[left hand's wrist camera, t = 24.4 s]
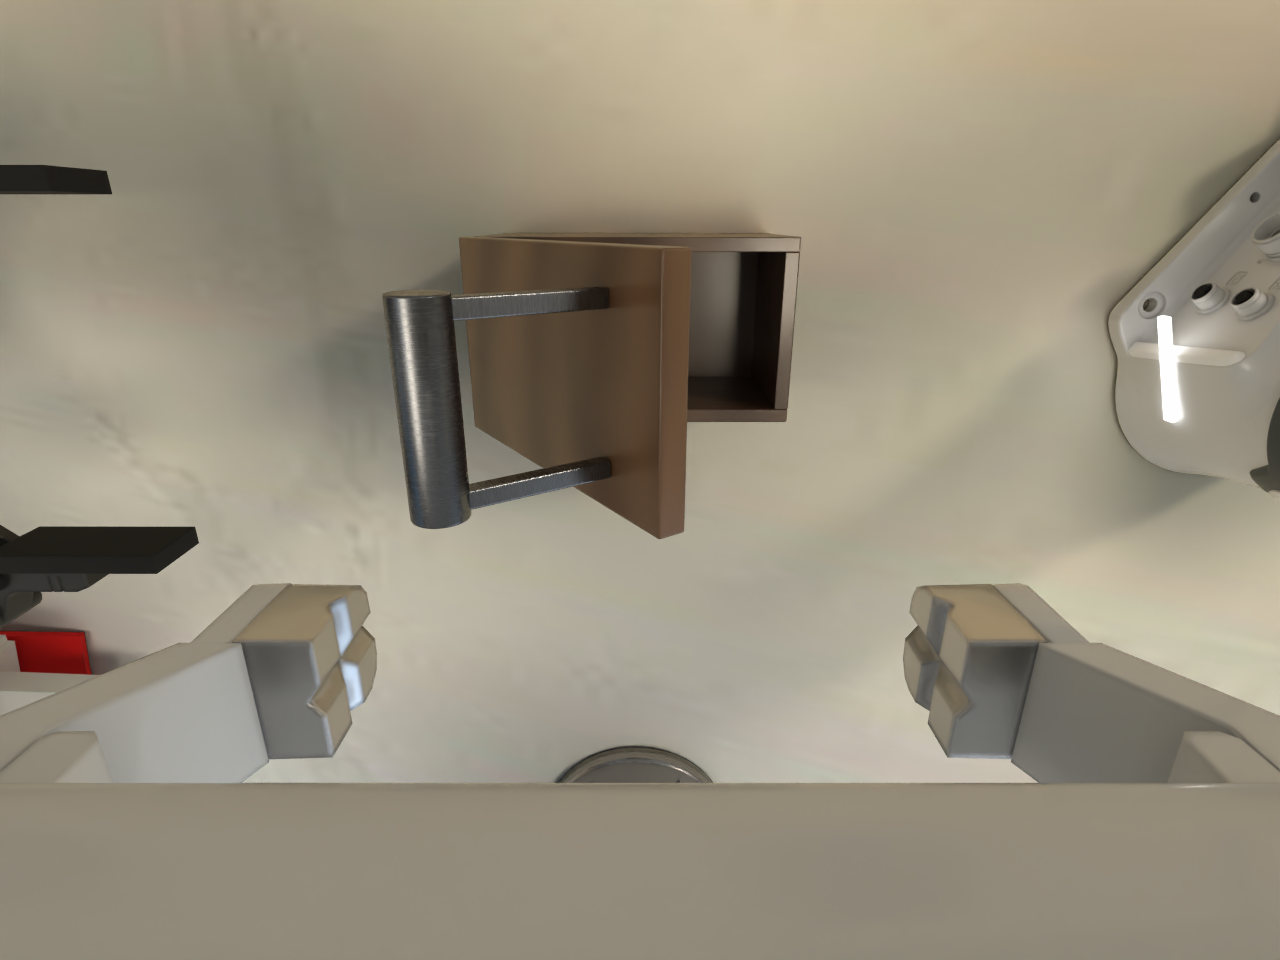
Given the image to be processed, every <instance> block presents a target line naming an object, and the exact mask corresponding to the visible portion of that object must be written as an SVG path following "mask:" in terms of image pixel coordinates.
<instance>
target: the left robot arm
mask: <svg viewBox="0 0 1280 960" xmlns="http://www.w3.org/2000/svg"><path fill="white" fill-rule="evenodd" d="M1147 299H1149V305H1148V307H1147V308H1146V309H1143V304H1144V302H1145V301H1146V300H1147ZM1108 328H1109V333H1110V337H1111V340H1112V343H1113V346H1114V349H1115V352H1116V354H1117V358H1118V369H1117V378H1116V387H1115V404H1116V412H1117V417H1118V420H1119V424H1120V426H1121V429H1122V431H1123V433H1124V435H1125V437H1126V439H1127V440H1128V442H1129V443H1130V444H1131V446H1132V447H1133V448H1134V449H1135V450H1136V451H1137V452H1138V453H1139V454H1140V455H1141V456H1142V457H1144V458H1145V459H1146V460H1148V461H1149V462H1151V463H1153V464H1155V465H1157V466H1159V467H1161V468H1164V469H1167V470H1170V471H1174V472H1179V473H1188V474H1203V475H1210V476H1215V477H1221V478H1225V479H1230V480H1234V481H1238V482H1242V483H1245V484H1249V485H1253V486H1256V487H1260V488H1262V489H1263V490H1265V491H1266V492H1268V493H1269V494H1270V495H1271V496H1272V497H1273V498H1275V499H1277V500H1279V501H1280V139H1279V140H1278V141H1277V142H1276V143H1275V144H1274V145H1273V146H1272V147H1271V148H1270V149H1269V150H1268V151H1267V152H1266V153H1265V154H1264V155H1263V156H1262V157H1261V158H1260V159H1259V160H1258V161H1257V162H1256V163H1255V164H1254V165H1253V166H1252V167H1251V168H1250V169H1249V170H1248V171H1247V172H1246V173H1245V174H1244V175H1243V176H1242V177H1241V178H1240V179H1239V181H1238V182H1237V183H1236V184H1235V185H1234V186H1233V187H1232V188H1231V189H1230V190H1229V191H1228V192H1227V193H1226V194H1225V195H1224V196H1223V197H1222V198H1221V199H1220V200H1219V201H1218V202H1217V203H1216V204H1215V205H1214V206H1213V207H1212V208H1211V209H1210V210H1209V211H1208V212H1207V213H1206V214H1205V215H1204V216H1203V217H1202V218H1201V219H1200V220H1199V221H1198V222H1197V223H1196V224H1195V225H1194V226H1193V227H1192V228H1191V229H1190V230H1189V231H1188V232H1187V233H1186V234H1185V235H1184V237H1183V238H1182V239H1181V240H1180V241H1179V242H1178V243H1177V244H1176V245H1175V246H1174V247H1173V248H1172V249H1171V250H1170V251H1169V252H1168V253H1167V254H1166V255H1165V256H1164V257H1163V258H1162V259H1161V260H1160V261H1159V262H1158V263H1157V264H1156V265H1155V266H1154V267H1153V268H1152V269H1151V270H1150V271H1149V272H1148V273H1147V274H1146V275H1145V276H1144V277H1143V278H1142V279H1141V280H1140V281H1139V282H1138V283H1137V284H1136V285H1135V286H1134V287H1133V288H1132V289H1131V290H1130V292H1129V293H1128V294H1127V295H1126V296H1125V297H1124V298H1123V299H1122V300H1121V301H1120V302H1119V303H1118V304H1117V305H1116V306H1115V307H1114V308H1113V310H1112V312H1111V313H1110V316H1109V320H1108ZM369 614H370V607H369V602H368V597H367V592H366V591H365V590H364V589H363V588H362V587H361V585H311V584H294V585H292V584H290V583H287V584H259V585H252V586H251V587H250V588H249V589H248V590H247V591H246V592H245V593H244V594H243V595H242V596H241V597H239V598H238V599H237V600H236V601H235V602H234V603H233V604H232V605H231V606H230V607H229V608H228V609H226V610H225V611H224V612H223V613H222V614H221V615H220V616H219V617H218V618H217V619H216V620H215V621H213V622H212V623H211V624H210V625H209V626H208V627H207V628H206V629H205V630H204V631H203V632H202V633H200V634H199V635H198V636H197V637H196V638H195V639H194V640H193V641H192V642H191V643H178V644H175V645H173V646H170V647H168V648H165V649H163V650H160V651H158V652H155V653H153V654H151V655H148V656H146V657H143V658H141V659H138V660H136V661H133V662H131V663H128V664H126V665H124V666H121V667H119V668H116V669H114V670H111V671H109V672H106V673H104V674H101V675H99V676H97V677H94V678H92V679H89V680H87V681H84V682H82V683H79V684H77V685H75V686H72V687H70V688H67V689H65V690H62V691H60V692H57V693H55V694H52V695H50V696H48V697H45V698H43V699H40V700H38V701H35V702H33V703H30V704H28V705H25V706H23V707H21V708H18V709H16V710H13V711H11V712H8V713H6V714H3V715H1V716H0V960H1280V716H1279V715H1276V714H1274V713H1271V712H1269V711H1266V710H1264V709H1262V708H1259V707H1257V706H1254V705H1252V704H1249V703H1247V702H1244V701H1242V700H1239V699H1237V698H1235V697H1232V696H1230V695H1227V694H1225V693H1222V692H1220V691H1217V690H1215V689H1213V688H1210V687H1208V686H1205V685H1203V684H1200V683H1198V682H1195V681H1193V680H1191V679H1188V678H1186V677H1183V676H1181V675H1178V674H1176V673H1173V672H1171V671H1169V670H1166V669H1164V668H1161V667H1159V666H1156V665H1154V664H1151V663H1149V662H1146V661H1144V660H1142V659H1139V658H1137V657H1134V656H1132V655H1129V654H1127V653H1124V652H1122V651H1120V650H1117V649H1115V648H1112V647H1110V646H1107V645H1105V644H1102V643H1089V642H1088V641H1087V640H1086V639H1085V638H1084V637H1083V636H1082V635H1081V634H1080V633H1079V632H1077V631H1076V630H1075V629H1074V628H1073V627H1072V626H1071V625H1070V624H1069V623H1068V622H1067V621H1066V620H1064V619H1063V618H1062V617H1061V616H1060V615H1059V614H1058V613H1057V612H1056V611H1055V610H1054V609H1053V608H1052V607H1050V606H1049V605H1048V604H1047V603H1046V602H1045V601H1044V600H1043V599H1042V598H1041V597H1040V596H1039V595H1038V594H1036V593H1035V592H1034V591H1033V590H1032V589H1031V588H1030V587H1029V586H1027V585H1023V584H1020V583H1015V584H992V585H991V584H973V585H932V586H920V587H916V590H915V592H914V594H913V596H912V601H911V607H910V614H911V615H912V617H913V618H914V620H915V622H916V623H917V625H918V626H917V627H916V628H915V629H914V630H913V631H912V632H911V633H910V634H909V635H908V636H907V637H906V638H905V646H904V654H903V664H904V674H905V679H906V682H907V686H908V689H909V691H910V693H911V695H912V697H913V698H914V700H915V702H916V703H918V704H919V705H921V706H923V707H924V708H926V709H927V710H929V711H930V713H929V719H928V725H929V726H930V728H931V730H932V732H933V733H934V735H935V737H936V738H937V740H938V742H939V744H940V745H941V747H942V749H943V750H944V752H945V754H946V756H947V757H951V758H988V759H1011V762H1012V763H1013V764H1014V765H1016V766H1017V767H1018V768H1020V769H1021V770H1022V771H1024V772H1025V773H1026V774H1028V775H1029V776H1030V777H1032V778H1033V779H1034V780H1036V781H1037V782H1038V783H242V782H243V781H244V780H246V779H247V778H248V777H250V776H251V775H252V774H254V773H255V772H257V771H258V770H259V769H261V768H262V767H263V766H265V765H266V764H267V763H269V759H291V758H327V757H333V756H334V754H335V752H336V751H337V749H338V747H339V745H340V744H341V742H342V740H343V739H344V737H345V735H346V733H347V732H348V730H349V728H350V726H351V725H352V719H351V713H350V711H351V710H353V709H354V708H356V707H357V706H359V705H361V704H362V703H364V702H365V700H366V698H367V697H368V695H369V693H370V691H371V689H372V686H373V682H374V678H375V673H376V667H377V652H376V645H375V638H374V637H373V636H372V635H371V634H370V633H369V632H368V631H367V630H366V629H365V628H364V627H363V626H362V625H363V623H364V622H365V620H366V618H367V617H368V615H369Z"/></svg>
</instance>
